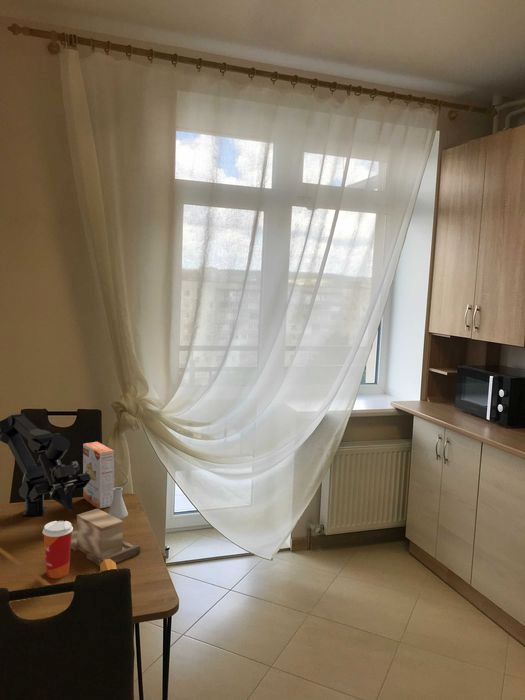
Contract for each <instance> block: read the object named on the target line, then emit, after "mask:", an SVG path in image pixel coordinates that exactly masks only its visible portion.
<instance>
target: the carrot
mask: <svg viewBox="0 0 525 700" xmlns="http://www.w3.org/2000/svg"><path fill="white" fill-rule="evenodd" d="M99 567H100V569H99V572H100V571H103V570H110V569H117V563H115V562H114V561H112V560H111V559H106V560H104V561H103V562H102V563H101V564H100V566H99ZM117 570H118V569H117Z"/></svg>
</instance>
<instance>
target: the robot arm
mask: <svg viewBox="0 0 525 700" xmlns="http://www.w3.org/2000/svg"><path fill="white" fill-rule="evenodd" d="M22 436H23V437H24V438H25V439H26V440H27V441H28V443H27V445H26V444H25V441H24V440H23V437H22ZM0 442H2V443H4V444H6V445H7V446H8V448H9V450H10V451H11V453H12V455H13V458H14V459H15V461H16V463H17V465H18V467H19V468H20V470H21V472H22V475H23V477H22V481H21V486H20V487H19V489H18V494H19V497H21V498H22V499H24V500H25V509H24V512H23V513H22V516H23V517H25V516H26V517H29V516H43V515H44V514H45V512H46V511H47V506H44V505H45V501H44V500H45V498H44V497H45V495H47V494H48V495H49V494H50V496H49V497H48V499H50V500H54V501H55V502H57V503H59V504H60V505H61V506H62V507H64V509H66V510H67V511H68V512H71V511H72V510H73V506H74V505H73V492H74V490H76V491H77V490H79V489H80V490H81V489H83V488H84V487H85V486H86V485H87V484H88V483H89V481H90V480H91V477H90V475H89V474H88V473H83V472H82V473H80V474H77V472H79V471H80V470H81V469H80V468H81V467H80V464H79V463H78V461H77V460H75V461H71V462H70V463H69V465H66V464H65V463H63V464H62V461H61V459H62V458H64V456H65V454H66V453H67V452H68V450H69V449H70V447H71V442H70V440H69V439H68V438H67V437H65V436H63V435H61V434H60V433H59V432H57V433H52V432H51V431H48V430H45V429H40V428H38V427H37V426H36V425H35V424H34V423H33V422H31V421H30V420H29V419H28V418H27V416H26V415H25V413H15V414H14V413H13V414H10V415H8V416H7V417H6V418H4V419H1V420H0ZM27 446H28V447H29V449H30V450H31V452H33V453H39V452H41V454H39V455H38V459H37V464H41V466H37V464H36V462H35V459H34V458H33V456H32V454H31V452H30V451H29V449H28V447H27ZM76 474H77V475H76ZM72 475H76V476H75V478H74V479H72V478H73V476H72ZM70 479H71V480H70Z"/></svg>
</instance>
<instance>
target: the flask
mask: <svg viewBox="0 0 525 700" xmlns="http://www.w3.org/2000/svg"><path fill="white" fill-rule="evenodd" d="M123 489H124V488H123V487H122V486H121V487H120V486H119V487H118V486H117V487H114V488H113V491H114V496H113V501H112V504H111V507H110V506H109V510H108V514H110V515H112V516H114V517H116V518H118V519H120V520H122V519H124V518H126V517H127V516H129V512H128V510H127V507H126V504H125V501H124V499H123V494H122V493H123Z"/></svg>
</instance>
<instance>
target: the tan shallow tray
mask: <svg viewBox="0 0 525 700" xmlns="http://www.w3.org/2000/svg"><path fill="white" fill-rule="evenodd" d="M71 550H72V551H74V552H76V551H80V552H82V553H83V554H85V555H86V559H87V560H89V561H90V562H93V563H94V564H96V565H97V566H98V567H100V564H101V563H102V562H103V561H104V560H106V559H111V560H112V561H114V562H115V563H116V564H118V563H119V562H121V561H125V560H127V559H129V558H132V557H134V556H136V555H139V554H141V545H139V544H135V545H134V544H131V543H129V542H127V541H126V540H124V539H123V549H122V551H120V552H117V553H115V554H112V555H109V556H107V557H104V558H102V559H101V558H99V557H97V556H96V555H94V554H92V553H91V552H89V551H87V550H86V549H84V548H82V547H81V546H79V545H77V529H76V530H73V531H72V536H71Z"/></svg>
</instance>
